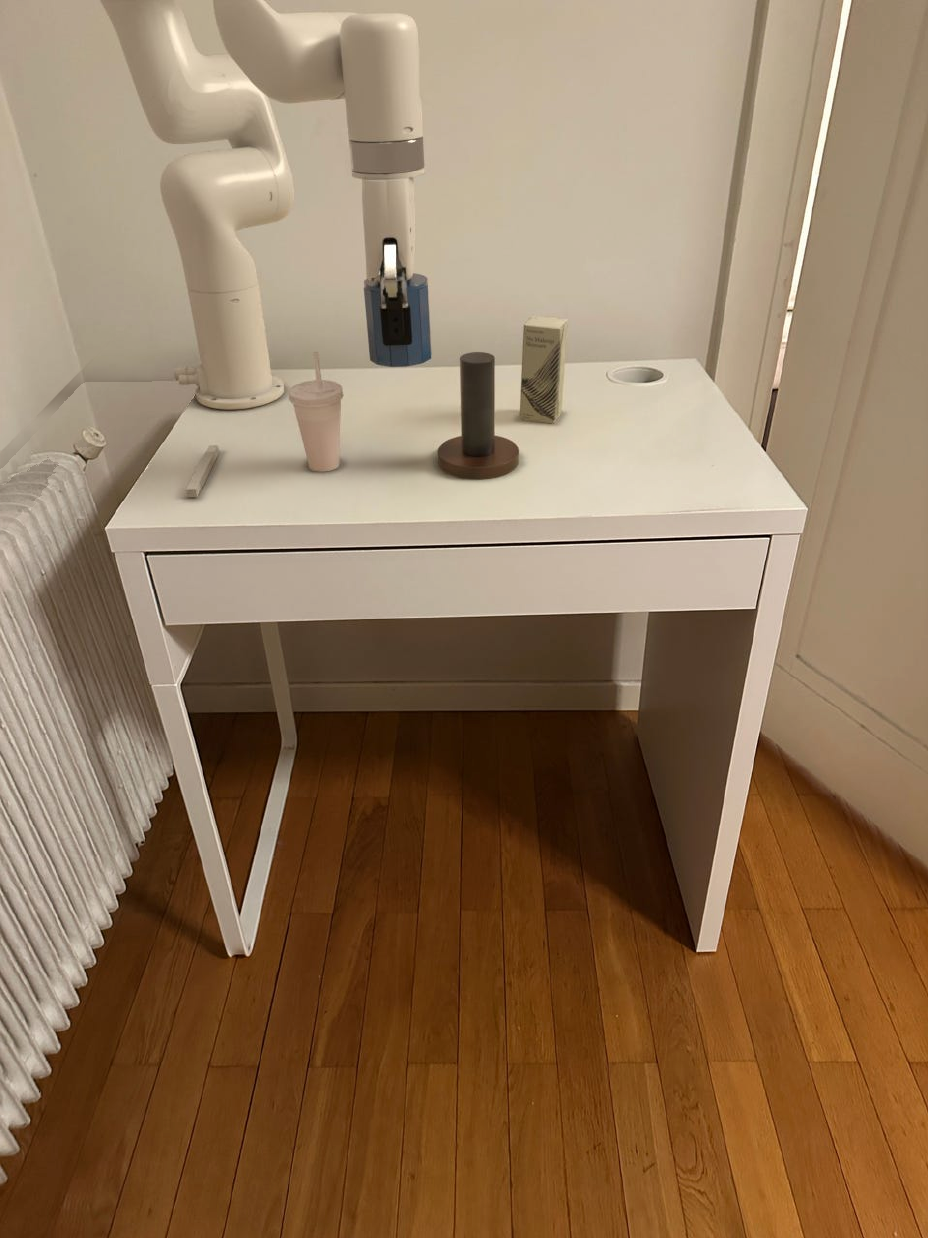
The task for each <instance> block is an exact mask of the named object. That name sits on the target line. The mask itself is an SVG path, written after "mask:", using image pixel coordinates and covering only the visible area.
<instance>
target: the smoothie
mask: <svg viewBox="0 0 928 1238" xmlns="http://www.w3.org/2000/svg"><path fill="white" fill-rule="evenodd" d="M312 354H313V360H314V361H313V362H314V371H315V379H316V380H307V381H302V382H299V383H297V384H295V385H292V386H291V387H290V388H289V389H288V401H289V402H290V403H291V404H292V406H293V409H294V410H293V411H294V413H295V418H296V421H297V425H298V430H299V433H300V437H301V441H302V444H303V449H304V452H305V455H306V460H307V463H308V467H309V469H310V470H312V471H314V472H323V473H324V472H330V471H333V470H336V469H337V468H339V467H340V458H341V457H340V452H341V415H342V400H343V398H344V396H345V395H344V391H343V386H342V385H341V384H340V383H338V382H336V381H332V380H326V379H325V380H324V379H322V373H321V363H320V357H319V352H318V351H314V352H313V353H312Z"/></svg>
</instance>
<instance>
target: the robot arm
mask: <svg viewBox="0 0 928 1238" xmlns="http://www.w3.org/2000/svg"><path fill="white" fill-rule="evenodd" d="M99 1H100V3H101V5H102V7H103V8H104V10H105V12H106V14H107V16H108V18H109V20H110V22H111V24H112V26H113V29H114V31H115V33H116V36H117V38H118V40H119V44H120V47H121V50H122V52H123V57H124V58H125V62H126V65H127V67H128V70H129V73H130V76H131V78H132V81H133V83H134V88H135V91H136V93H137V96H138V98H139V101H140V104H141V107H142V109H143V112H144V115H145V117H146V119H147V122H148V124H149V126H150V128H151V130H152V132H153V134H154V135H155V136H156V137H157V138H158V139H159V140H161V141H162V142H164V143H166V144H172V145H190V144H191V145H192V144H200V143H208V142H217V141H224V140H226V141H228V143H229V144H230V147H231V148H227V149H213V150H208V151H200V152H193V153H188V154H185V155H182V156H179V157H177V158H174V159H173V160H172V161H171V162H170V163H168V164H167V165H166V166H165V168H164V170H163V171H162V174H161V176H160V182H159V187H160V194H161V200H162V203H163V206H164V209H165V211H166V214H167V218H168V220H169V222H170V225H171V228H172V231H173V234H174V237H175V240H176V244H177V248H178V251H179V255H180V259H181V265H182V269H183V273H184V279H185V284H186V288H187V294H188V299H189V305H190V308H191V316H192V321H193V326H194V332H195V337H196V341H197V342H196V343H197V347H198V354H199V358H200V364H196V365H195V367H189V366H175V367H174V369H173V376H174V379H175V381H178V383H179V385H181V386H185V385H186V386H187V385H195V386H197V387H196V389H195V397H196V400H197V402H198V403H199V404H201V405H202V406H205V407H207V408H212V409H217V410H244V409H250V408H251V409H252V408H256V407H260V406H264V405H267V404H270V403H272V402H274V401H276V400H277V399H280V397H281V396H283V394H284V393H285V384H284V381H283V380H282V378H280V377H278V376H276V375H273V374H272V369H271V362H270V361H271V360H270V353H269V346H268V339H267V333H266V332H267V331H266V327H265V325H266V324H265V319H264V312H263V306H262V305H263V304H262V298H261V291H260V290H261V289H260V285H259V278H258V271H257V267H256V264H255V261H254V259H253V257H252V256H251V254H250V253H249V251H248V250H247V249H246V248H245V246H244V245H243V244H242V243H241V241H240V240H239V238H238V237H237V235H236V232H237V231H241V230H244V229H248V228H253V227H257V226H263V225H268V224H272V223H276V222H277V223H278V222H279V221H281V220H283V219H285V218H286V217H287V216H289V214H290V213H291V211H292V209H293V206H294V203H295V202H294V201H295V186H294V180H293V179H294V178H293V174H292V171H291V168H290V164H289V161H288V157H287V154H286V150H285V147H284V143H283V141H282V138H281V134H280V131H279V128H278V124H277V121H276V117H275V115H274V110H273V108H272V105H271V101H270V100H273V101H275V102H279V103H282V104H301V103H308V102H319V101H329V100H331V101H337V100H345V101H344V102H345V112H346V124H347V125H346V126H347V135H348V146H349V147H348V149H349V159H350V169H351V177H353V178H355V179H359V180H361V196H362V197H361V200H362V202H361V203H362V205H361V206H362V221H363V237H364V253H365V271H366V273H365V274H366V279H368V280H369V281H370V282H373V281H374V278H378V275H380V284H381V306H382V307H380V314H381V326H382V339H383V344H384V345H385V346H392V345H410V344H411V343H412V328H411V311H410V306H408V303H407V281H408V280H409V279H410V278H411V277H412V276H413V273H414V269H415V260H416V240H417V238H416V236H417V235H416V232H417V229H416V206H415V205H416V201H415V200H416V199H415V180H414V178H416V177H420V176H423V175H425V173H426V168H425V167H426V166H425V149H424V148H425V147H424V145H425V144H424V127H423V125H424V124H423V105H422V86H421V65H420V63H421V62H420V43H419V42H420V41H419V31H418V26H417V24H416V21H415V20H414V18H413V17H412V16H410V15H409V14H406V13H402V12H373V13H359V12H352V11H334V12H333V11H330V12H326V11H321V12H320V11H319V12H316V11H315V12H314V11H313V12H286V13H279V12H277V11H276V10H274V9H273V8H272V7H271V6H270V5H269V4H268V3H267V1H265V0H212V5H213V11H214V17H215V22H216V26H217V30H218V33H219V36H220V39H221V42H222V43H223V46H224V48H225V50H226V52H227V53H220V54H219V53H218V54H202V53H200V52H199V51H198V49H197V48H196V46H195V43H194V42H193V38H192V35H191V32H190V29H189V26H188V22H187V20H186V17H185V14H184V12H183V10H182V9H181V7H180V5H179V3H178V2H177V1H176V0H99ZM397 273H402V275H403V276H397ZM398 285H401V286H402V289H401V287H400V286H398Z"/></svg>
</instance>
